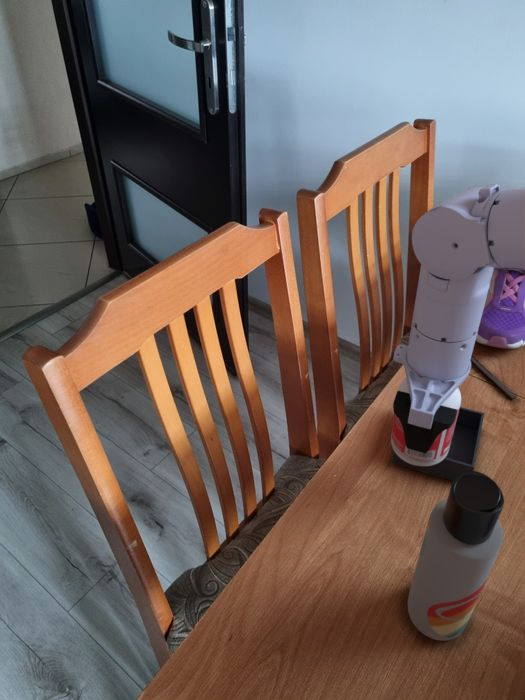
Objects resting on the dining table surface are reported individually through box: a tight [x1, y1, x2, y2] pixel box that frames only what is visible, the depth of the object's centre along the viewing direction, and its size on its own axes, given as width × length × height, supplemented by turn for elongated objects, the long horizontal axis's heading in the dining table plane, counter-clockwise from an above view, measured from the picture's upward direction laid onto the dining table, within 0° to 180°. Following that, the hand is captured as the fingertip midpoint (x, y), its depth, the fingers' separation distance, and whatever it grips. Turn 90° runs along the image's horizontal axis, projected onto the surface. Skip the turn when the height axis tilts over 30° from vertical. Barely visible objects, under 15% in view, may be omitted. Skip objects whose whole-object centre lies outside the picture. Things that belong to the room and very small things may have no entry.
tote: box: [391, 406, 485, 482], centre depth 68 cm, size 9×9×3 cm
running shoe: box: [475, 268, 525, 350], centre depth 86 cm, size 10×23×10 cm, turn 155°
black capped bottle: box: [407, 470, 505, 642], centre depth 47 cm, size 6×6×20 cm
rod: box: [470, 354, 517, 401], centre depth 81 cm, size 1×19×1 cm
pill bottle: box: [390, 377, 462, 466], centre depth 57 cm, size 6×6×11 cm
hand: (423, 424), depth 59 cm, fingers closed on pill bottle, 6 cm apart
